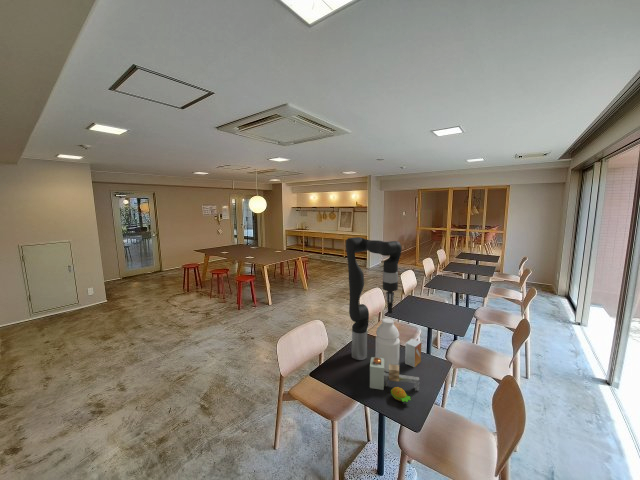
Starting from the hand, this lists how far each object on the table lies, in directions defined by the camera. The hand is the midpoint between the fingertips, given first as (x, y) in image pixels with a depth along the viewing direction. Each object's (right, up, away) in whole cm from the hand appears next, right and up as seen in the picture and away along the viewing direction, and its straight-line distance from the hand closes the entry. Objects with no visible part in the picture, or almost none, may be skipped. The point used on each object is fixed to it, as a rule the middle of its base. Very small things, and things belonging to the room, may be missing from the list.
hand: (389, 312), depth 138 cm
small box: (+20, -36, +22) cm, 47 cm away
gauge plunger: (-6, -34, +4) cm, 35 cm away
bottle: (+4, -37, +20) cm, 42 cm away
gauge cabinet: (-6, -39, +4) cm, 40 cm away
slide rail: (+6, -39, +1) cm, 40 cm away
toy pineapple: (+3, -41, -8) cm, 41 cm away
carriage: (+3, -35, +2) cm, 35 cm away
